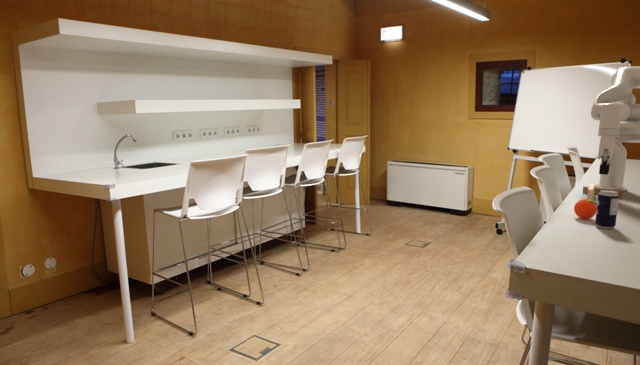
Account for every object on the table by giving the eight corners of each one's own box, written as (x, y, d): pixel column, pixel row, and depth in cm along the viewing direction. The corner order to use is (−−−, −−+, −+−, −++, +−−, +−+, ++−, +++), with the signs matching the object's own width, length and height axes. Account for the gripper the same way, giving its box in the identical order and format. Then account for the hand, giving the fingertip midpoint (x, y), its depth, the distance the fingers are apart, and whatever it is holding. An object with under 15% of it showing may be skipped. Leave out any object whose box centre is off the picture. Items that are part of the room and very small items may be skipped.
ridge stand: (582, 196, 200) (583, 182, 199) (601, 197, 196) (602, 184, 195) (578, 203, 185) (579, 188, 184) (598, 205, 181) (600, 190, 180)
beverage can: (609, 225, 153) (613, 189, 151) (618, 229, 147) (623, 193, 145) (591, 224, 154) (595, 189, 151) (600, 229, 148) (604, 192, 146)
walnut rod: (582, 195, 203) (583, 186, 202) (618, 197, 199) (619, 188, 198) (584, 196, 199) (585, 187, 199) (621, 199, 195) (622, 189, 195)
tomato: (599, 218, 162) (602, 198, 161) (598, 222, 156) (601, 202, 155) (574, 215, 166) (576, 196, 165) (572, 219, 160) (574, 199, 159)
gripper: (599, 132, 203) (595, 170, 206) (597, 133, 189) (592, 174, 192) (619, 132, 199) (614, 172, 202) (618, 133, 185) (613, 176, 187)
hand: (604, 173), depth 197 cm, fingers open, 9 cm apart
